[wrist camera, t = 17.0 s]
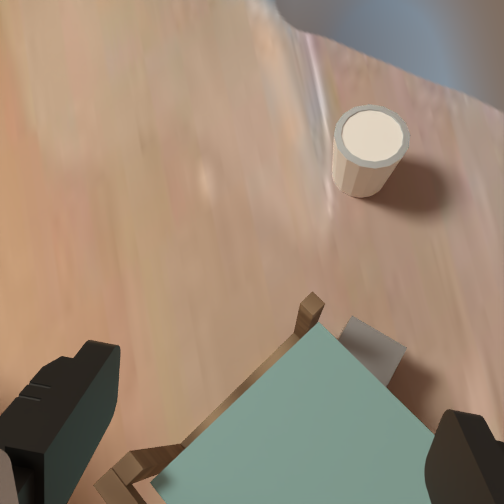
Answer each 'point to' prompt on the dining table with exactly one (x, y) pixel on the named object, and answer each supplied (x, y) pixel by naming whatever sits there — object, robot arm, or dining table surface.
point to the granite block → (372, 349)
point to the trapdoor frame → (157, 459)
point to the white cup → (367, 149)
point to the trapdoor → (306, 439)
